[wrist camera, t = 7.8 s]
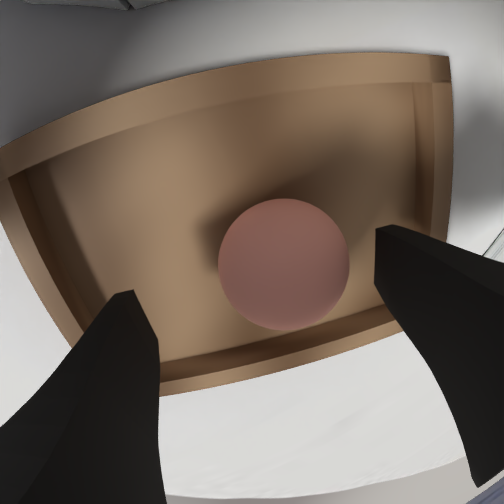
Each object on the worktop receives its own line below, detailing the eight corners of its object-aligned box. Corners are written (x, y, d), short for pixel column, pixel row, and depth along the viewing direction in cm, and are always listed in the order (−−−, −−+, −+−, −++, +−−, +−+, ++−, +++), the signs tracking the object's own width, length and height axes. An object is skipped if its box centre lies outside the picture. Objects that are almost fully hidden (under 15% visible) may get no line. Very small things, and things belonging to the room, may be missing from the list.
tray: (118, 369, 15) (113, 402, 13) (8, 145, 9) (-23, 160, 7) (410, 294, 16) (431, 319, 14) (413, 55, 10) (449, 56, 8)
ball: (214, 312, 12) (279, 380, 9) (181, 213, 10) (253, 264, 7) (298, 264, 13) (374, 309, 10) (285, 171, 11) (377, 198, 8)
